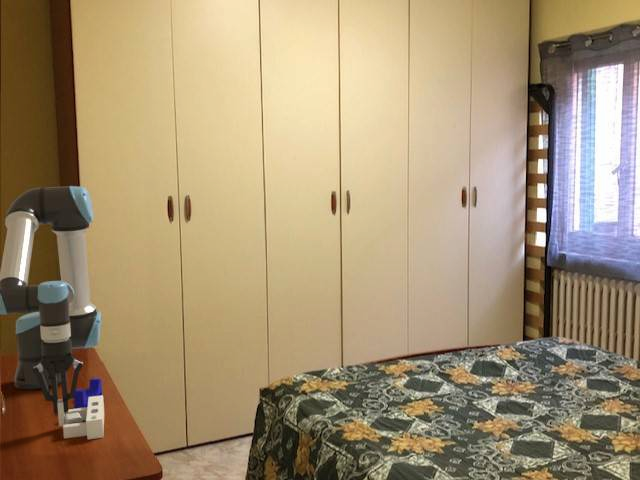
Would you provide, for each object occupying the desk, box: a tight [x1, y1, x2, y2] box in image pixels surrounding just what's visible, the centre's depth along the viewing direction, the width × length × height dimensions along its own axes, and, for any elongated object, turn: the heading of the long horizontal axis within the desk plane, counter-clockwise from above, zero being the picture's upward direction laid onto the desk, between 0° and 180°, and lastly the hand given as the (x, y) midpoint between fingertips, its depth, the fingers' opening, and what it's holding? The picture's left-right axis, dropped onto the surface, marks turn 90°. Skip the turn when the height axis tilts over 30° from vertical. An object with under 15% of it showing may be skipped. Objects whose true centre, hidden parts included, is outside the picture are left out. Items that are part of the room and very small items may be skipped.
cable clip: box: [73, 377, 103, 409], centre depth 214 cm, size 12×4×6 cm, turn 172°
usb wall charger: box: [65, 413, 83, 425], centre depth 195 cm, size 4×7×4 cm, turn 26°
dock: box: [62, 394, 105, 440], centre depth 196 cm, size 20×10×5 cm, turn 16°
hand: (62, 424), depth 194 cm, fingers closed
